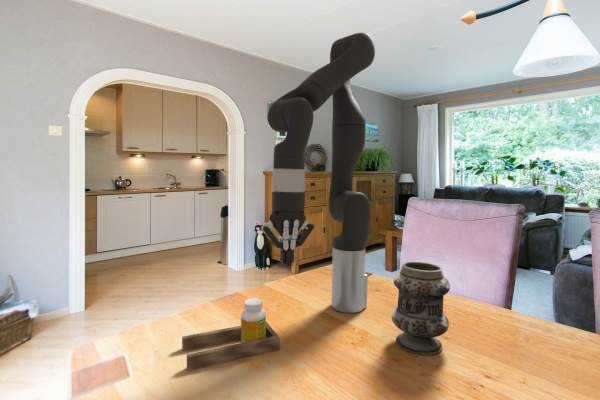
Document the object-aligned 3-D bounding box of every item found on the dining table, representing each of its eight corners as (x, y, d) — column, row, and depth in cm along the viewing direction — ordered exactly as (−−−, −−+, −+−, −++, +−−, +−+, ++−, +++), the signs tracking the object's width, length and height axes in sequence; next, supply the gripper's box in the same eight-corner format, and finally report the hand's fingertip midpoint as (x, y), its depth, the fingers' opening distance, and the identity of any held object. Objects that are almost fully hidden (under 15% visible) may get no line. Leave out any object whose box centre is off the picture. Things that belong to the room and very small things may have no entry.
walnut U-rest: (265, 331, 79) (265, 320, 79) (279, 349, 71) (279, 337, 71) (182, 348, 71) (182, 336, 71) (187, 370, 63) (187, 357, 63)
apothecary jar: (445, 336, 78) (448, 261, 77) (450, 363, 67) (454, 276, 65) (392, 327, 82) (394, 256, 81) (388, 351, 71) (391, 269, 69)
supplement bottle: (261, 351, 70) (261, 307, 69) (237, 348, 71) (237, 305, 70) (268, 339, 75) (268, 298, 74) (246, 336, 76) (246, 296, 76)
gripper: (307, 189, 80) (305, 258, 82) (255, 188, 75) (254, 263, 76) (322, 190, 74) (320, 266, 75) (266, 190, 68) (265, 272, 69)
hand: (286, 265), depth 75 cm, fingers closed
